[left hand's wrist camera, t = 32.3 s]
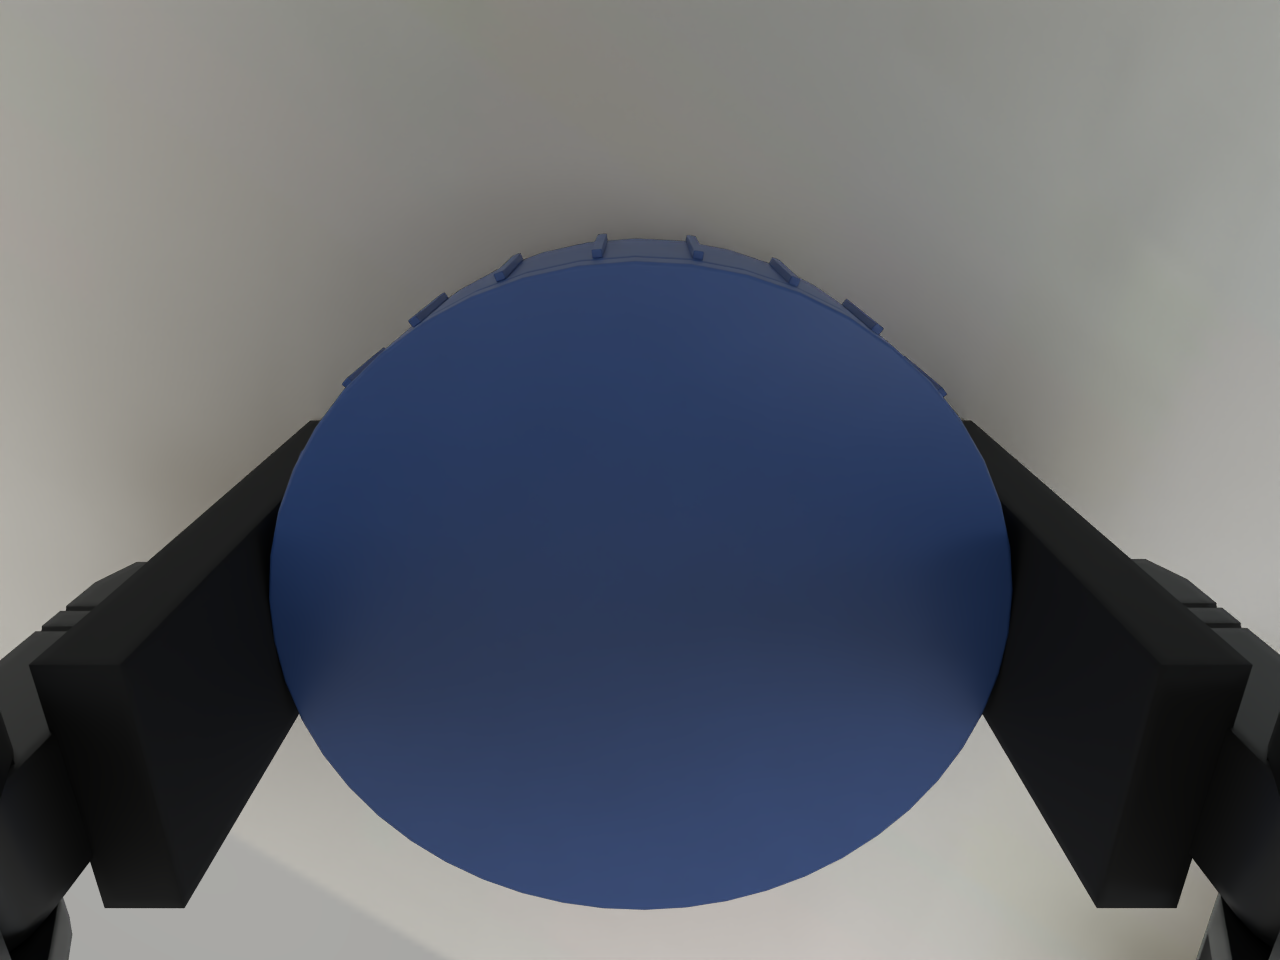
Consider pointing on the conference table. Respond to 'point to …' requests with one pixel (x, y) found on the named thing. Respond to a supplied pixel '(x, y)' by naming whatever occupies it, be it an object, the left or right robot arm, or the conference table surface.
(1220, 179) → the conference table surface
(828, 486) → the lid
